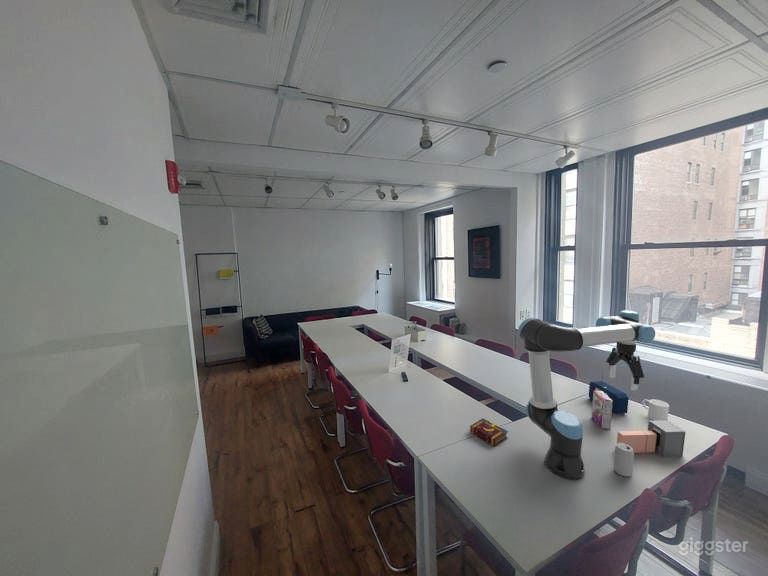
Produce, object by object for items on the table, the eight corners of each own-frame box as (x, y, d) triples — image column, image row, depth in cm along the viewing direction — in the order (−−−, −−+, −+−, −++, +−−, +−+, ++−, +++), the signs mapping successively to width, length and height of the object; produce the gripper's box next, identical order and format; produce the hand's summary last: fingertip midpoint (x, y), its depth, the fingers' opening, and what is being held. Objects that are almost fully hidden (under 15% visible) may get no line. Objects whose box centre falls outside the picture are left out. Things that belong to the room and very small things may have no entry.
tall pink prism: (621, 453, 142) (622, 435, 141) (616, 448, 145) (617, 431, 144) (654, 452, 142) (656, 434, 141) (649, 447, 145) (650, 430, 144)
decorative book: (494, 448, 148) (495, 438, 147) (467, 432, 161) (468, 423, 160) (507, 439, 155) (508, 430, 154) (480, 424, 168) (481, 416, 167)
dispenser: (663, 456, 139) (666, 431, 138) (646, 444, 148) (648, 420, 147) (682, 456, 139) (685, 431, 138) (664, 443, 148) (666, 420, 147)
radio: (586, 398, 193) (588, 368, 191) (598, 397, 194) (601, 367, 192) (614, 416, 173) (617, 383, 170) (628, 415, 174) (631, 382, 171)
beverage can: (633, 480, 126) (635, 453, 125) (613, 474, 129) (616, 448, 128) (630, 470, 131) (633, 445, 130) (612, 465, 135) (614, 440, 133)
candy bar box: (590, 417, 172) (592, 390, 170) (600, 417, 171) (602, 390, 169) (600, 428, 161) (603, 399, 159) (611, 429, 160) (613, 400, 158)
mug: (644, 410, 178) (646, 395, 177) (670, 421, 167) (672, 404, 166) (636, 413, 175) (638, 397, 173) (662, 424, 164) (664, 407, 162)
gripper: (657, 350, 135) (652, 395, 138) (614, 334, 160) (611, 372, 163) (640, 351, 135) (636, 395, 138) (600, 335, 160) (597, 373, 163)
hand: (622, 383), depth 151 cm, fingers open, 13 cm apart
